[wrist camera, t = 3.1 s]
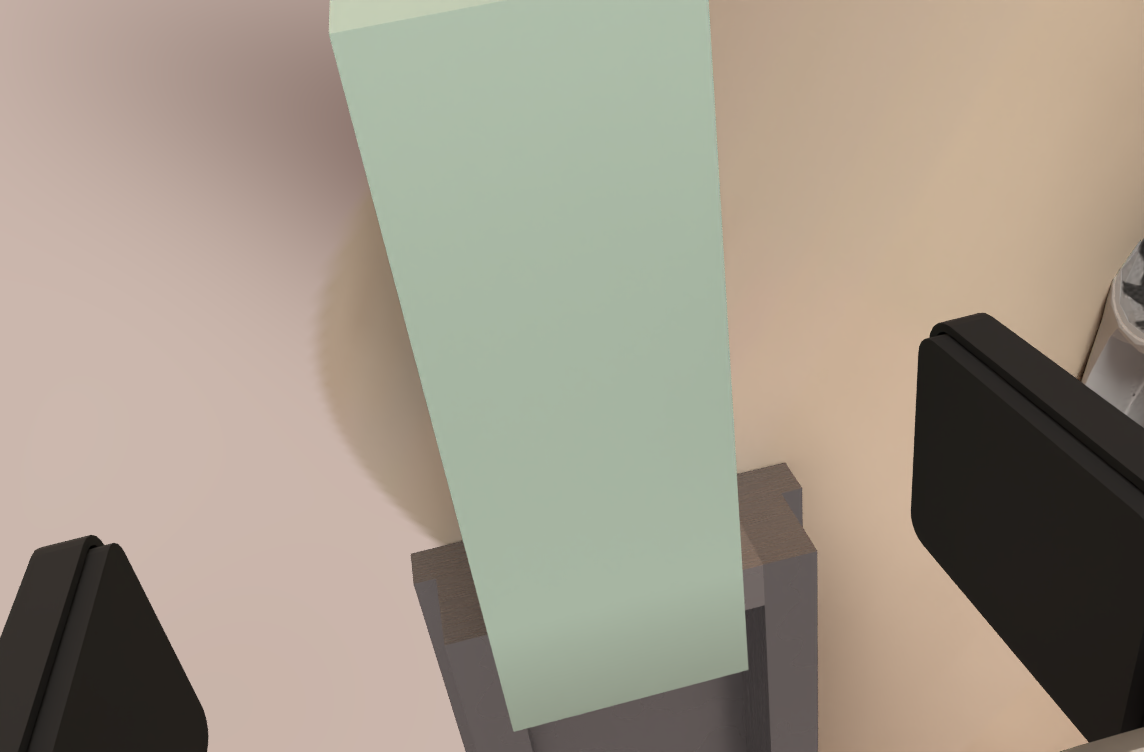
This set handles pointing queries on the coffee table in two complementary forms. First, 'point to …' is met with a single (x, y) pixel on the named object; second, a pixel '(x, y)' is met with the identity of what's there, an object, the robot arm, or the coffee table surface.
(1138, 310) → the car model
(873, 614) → the coffee table surface
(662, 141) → the light green rectangular block
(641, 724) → the grey rectangular tray
